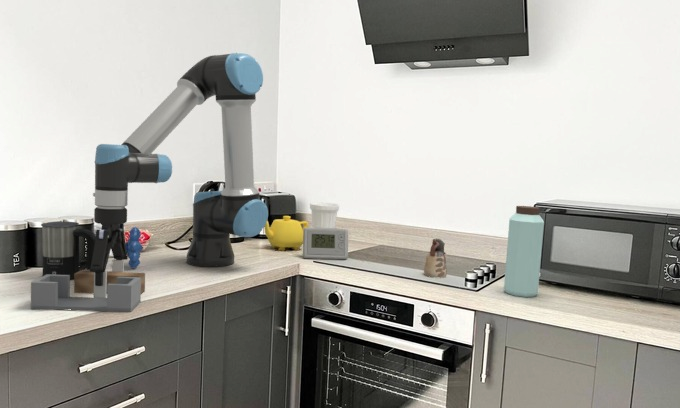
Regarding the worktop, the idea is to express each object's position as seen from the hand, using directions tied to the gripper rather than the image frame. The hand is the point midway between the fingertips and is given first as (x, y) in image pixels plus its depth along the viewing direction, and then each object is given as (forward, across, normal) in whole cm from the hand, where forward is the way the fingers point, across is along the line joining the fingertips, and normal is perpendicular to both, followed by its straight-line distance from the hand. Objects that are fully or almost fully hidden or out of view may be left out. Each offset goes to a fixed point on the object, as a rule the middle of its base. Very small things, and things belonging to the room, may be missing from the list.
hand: (109, 291), depth 142 cm
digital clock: (0, -54, +57) cm, 78 cm away
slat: (0, 0, 0) cm, 0 cm away
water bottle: (0, -12, +111) cm, 112 cm away
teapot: (0, -70, +42) cm, 82 cm away
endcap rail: (0, +12, -1) cm, 12 cm away
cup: (0, -93, +58) cm, 110 cm away
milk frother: (0, -18, -16) cm, 24 cm away
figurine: (0, -32, +91) cm, 97 cm away
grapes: (0, -29, -3) cm, 29 cm away
